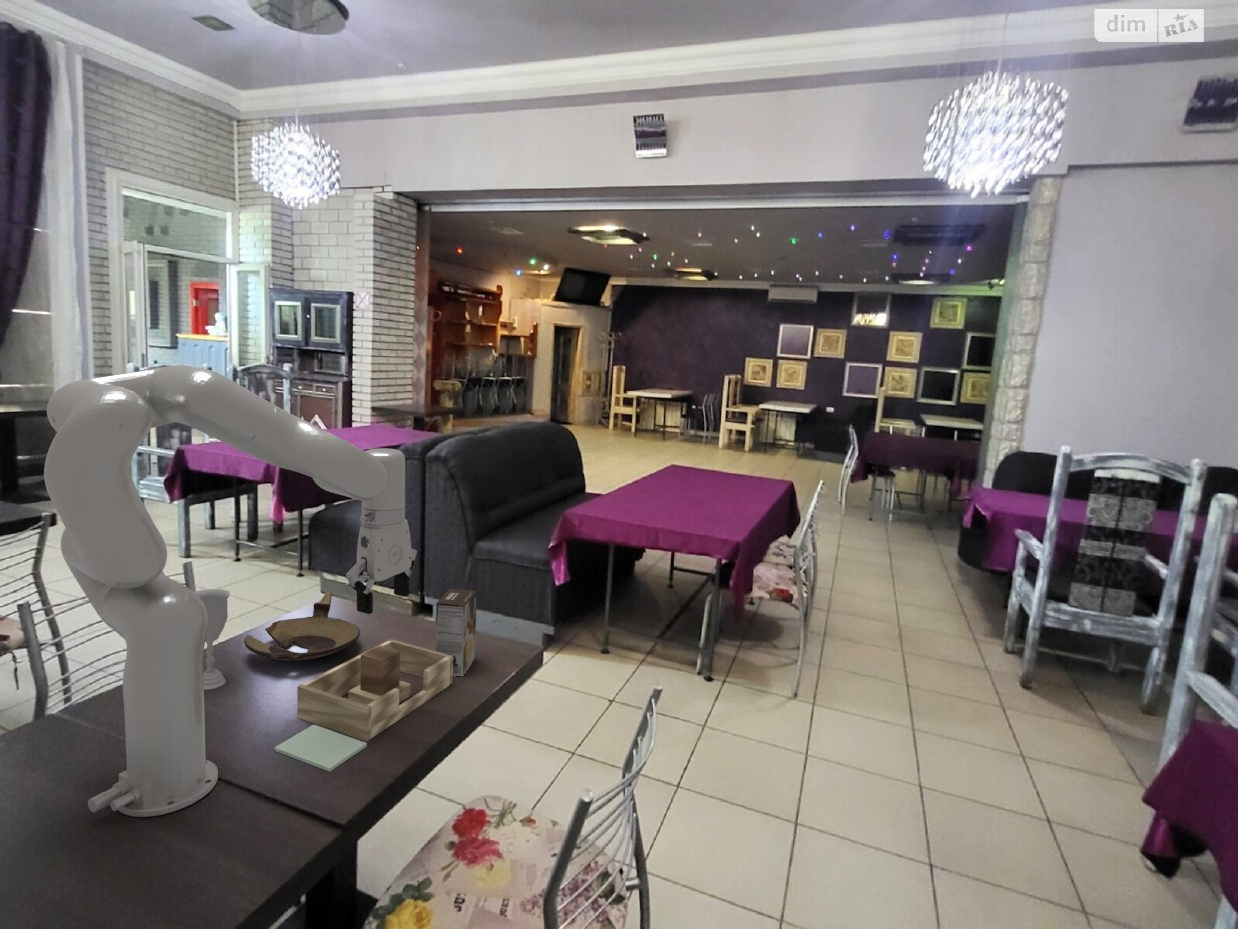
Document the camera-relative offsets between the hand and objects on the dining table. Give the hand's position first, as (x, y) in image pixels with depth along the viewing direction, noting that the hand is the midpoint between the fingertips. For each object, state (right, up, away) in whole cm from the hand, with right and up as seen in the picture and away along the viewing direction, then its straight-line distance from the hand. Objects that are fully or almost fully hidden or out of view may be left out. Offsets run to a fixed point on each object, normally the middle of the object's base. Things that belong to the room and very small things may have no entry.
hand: (383, 603), depth 124 cm
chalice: (-35, -17, +4) cm, 39 cm away
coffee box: (+9, -18, +18) cm, 27 cm away
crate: (-2, -19, +2) cm, 19 cm away
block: (-1, -17, +2) cm, 17 cm away
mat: (-5, -21, -14) cm, 26 cm away
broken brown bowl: (-24, -15, +22) cm, 36 cm away
